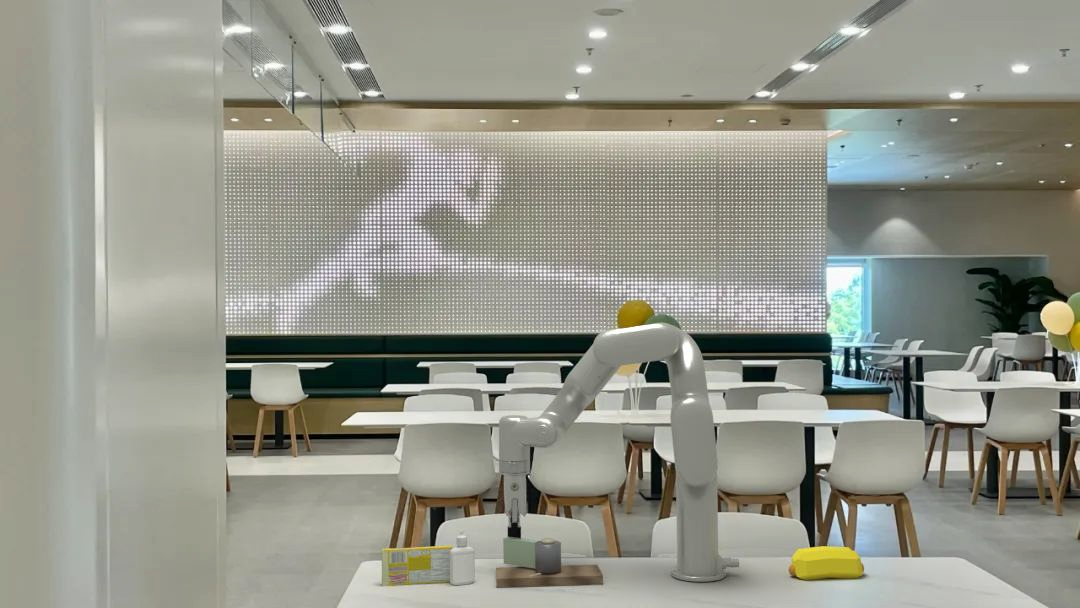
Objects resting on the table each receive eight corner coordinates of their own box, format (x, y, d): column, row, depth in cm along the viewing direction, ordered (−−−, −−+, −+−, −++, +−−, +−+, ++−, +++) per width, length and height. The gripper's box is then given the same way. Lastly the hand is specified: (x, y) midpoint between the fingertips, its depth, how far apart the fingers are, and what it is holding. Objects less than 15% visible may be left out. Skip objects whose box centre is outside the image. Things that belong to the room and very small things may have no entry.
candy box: (452, 580, 221) (452, 544, 221) (453, 583, 219) (452, 546, 219) (382, 584, 219) (381, 547, 219) (381, 586, 217) (381, 550, 217)
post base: (597, 572, 226) (597, 563, 226) (602, 584, 216) (602, 574, 216) (496, 576, 224) (495, 566, 224) (496, 587, 214) (496, 577, 214)
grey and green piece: (566, 569, 221) (565, 538, 221) (552, 574, 216) (551, 543, 216) (513, 560, 229) (513, 531, 229) (498, 566, 224) (498, 536, 224)
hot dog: (871, 580, 217) (857, 571, 225) (870, 550, 217) (856, 542, 225) (794, 582, 216) (783, 574, 223) (793, 553, 216) (782, 545, 224)
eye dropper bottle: (472, 586, 216) (471, 532, 216) (448, 585, 217) (447, 532, 217) (476, 580, 220) (475, 528, 221) (452, 580, 221) (451, 528, 221)
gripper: (531, 471, 222) (531, 551, 222) (528, 462, 237) (528, 536, 237) (498, 472, 222) (498, 551, 221) (498, 462, 237) (498, 536, 236)
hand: (514, 543), depth 229 cm, fingers closed
